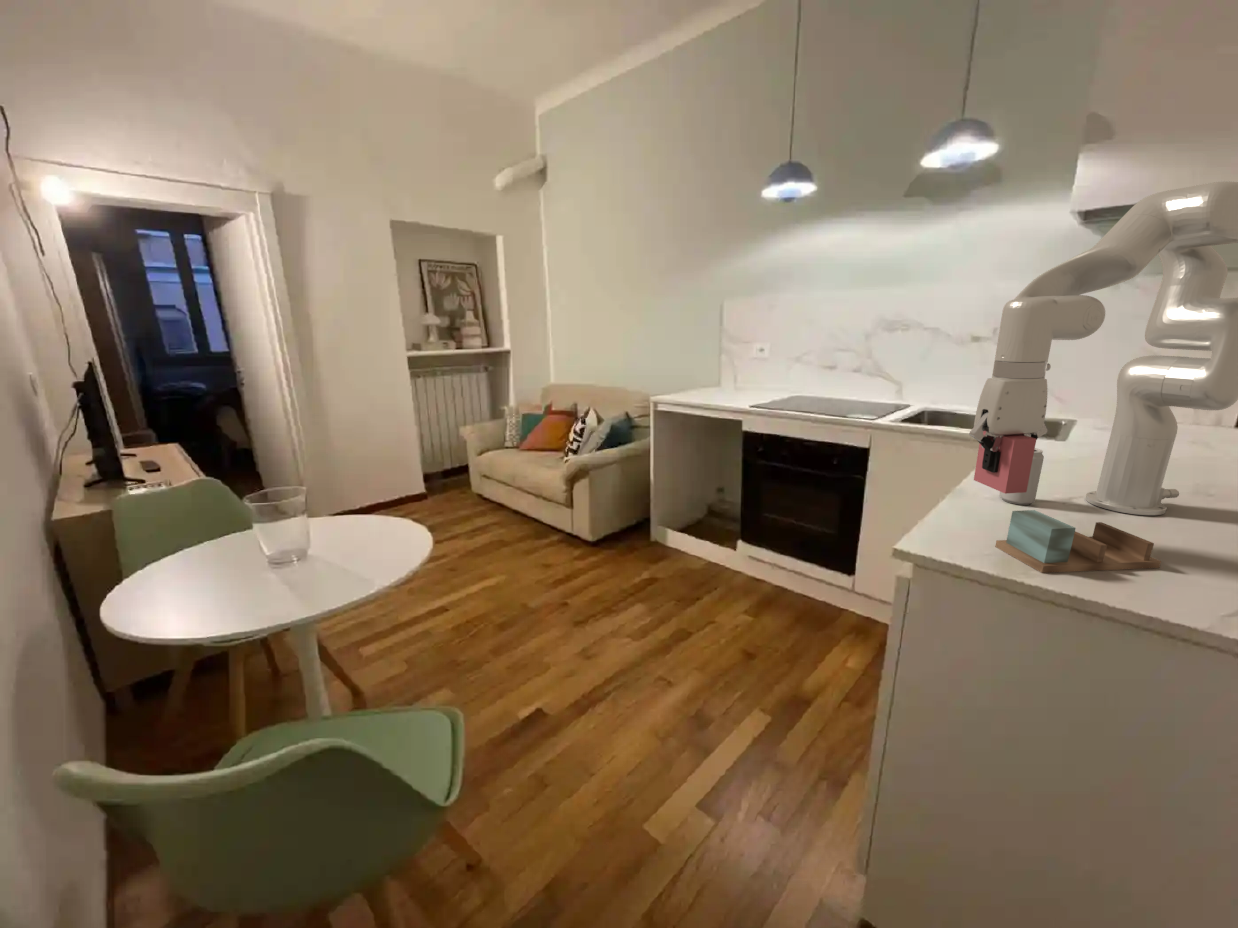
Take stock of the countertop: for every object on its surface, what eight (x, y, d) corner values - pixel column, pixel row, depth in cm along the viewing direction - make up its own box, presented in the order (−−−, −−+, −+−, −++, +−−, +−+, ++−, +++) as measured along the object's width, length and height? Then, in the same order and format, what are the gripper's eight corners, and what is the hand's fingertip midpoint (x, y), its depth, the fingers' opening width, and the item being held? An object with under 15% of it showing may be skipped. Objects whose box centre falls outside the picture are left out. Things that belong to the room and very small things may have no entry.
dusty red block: (993, 478, 102) (1001, 429, 99) (1026, 492, 94) (1036, 438, 91) (973, 480, 102) (981, 430, 99) (1005, 493, 94) (1014, 439, 91)
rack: (1101, 542, 94) (1110, 505, 92) (1159, 567, 85) (1171, 526, 83) (995, 546, 93) (1002, 509, 91) (1041, 572, 84) (1051, 531, 82)
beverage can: (1035, 507, 111) (1047, 453, 108) (999, 502, 115) (1009, 450, 111) (1032, 499, 117) (1043, 447, 113) (997, 494, 120) (1007, 444, 117)
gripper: (1046, 367, 96) (1028, 462, 101) (958, 371, 95) (945, 466, 100) (1083, 371, 89) (1062, 473, 94) (988, 375, 88) (972, 478, 93)
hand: (1001, 468), depth 97 cm, fingers closed on dusty red block, 4 cm apart
